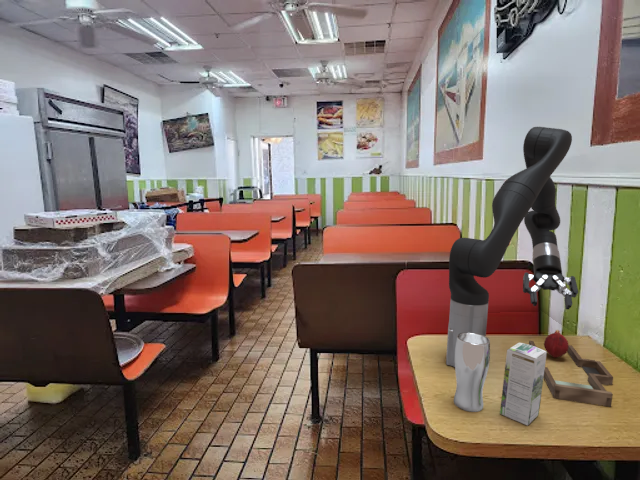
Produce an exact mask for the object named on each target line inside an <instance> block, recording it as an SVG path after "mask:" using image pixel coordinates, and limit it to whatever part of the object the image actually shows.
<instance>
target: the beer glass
mask: <svg viewBox="0 0 640 480" xmlns="http://www.w3.org/2000/svg"><path fill="white" fill-rule="evenodd" d="M490 361H491V340H490V338H489V337H487V336H483V335H481V334H477V333H460V334H458V335H457V341H456V347H455V367H454V369H455V370H454V371H455V372H454V373H455V379H456V380H455V381H456V389H455V393H454V397H453V403H454V406H455V407H458V408H459V409H460V410H463V411H465V412H469V413H477V412H480V411H482V410H483V409H484V399H483V398H484V397H483V390H484V385H485V382H486V379H487V375H488V373H489V368H490Z"/></svg>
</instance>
